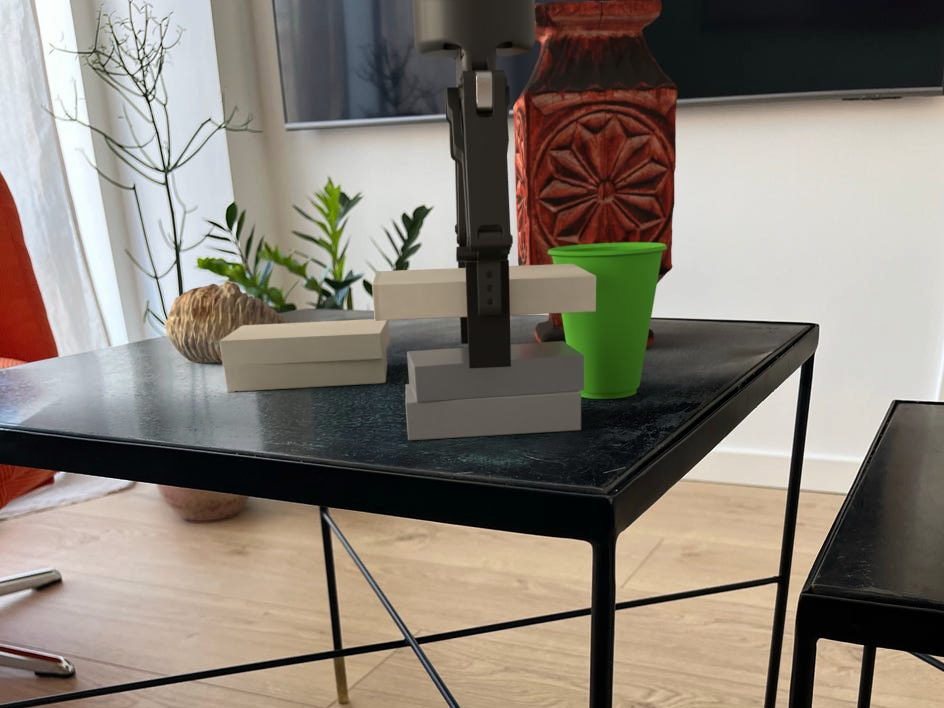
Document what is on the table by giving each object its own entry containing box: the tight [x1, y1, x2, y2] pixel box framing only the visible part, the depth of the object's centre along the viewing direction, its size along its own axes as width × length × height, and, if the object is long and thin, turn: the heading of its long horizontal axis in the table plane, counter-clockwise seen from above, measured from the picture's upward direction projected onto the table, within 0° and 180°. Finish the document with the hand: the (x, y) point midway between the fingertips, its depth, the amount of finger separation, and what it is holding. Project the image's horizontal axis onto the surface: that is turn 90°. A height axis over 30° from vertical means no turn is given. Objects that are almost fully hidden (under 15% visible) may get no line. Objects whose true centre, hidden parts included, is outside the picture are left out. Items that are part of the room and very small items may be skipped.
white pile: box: [219, 318, 391, 393], centre depth 93 cm, size 14×11×4 cm
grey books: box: [404, 341, 584, 442], centre depth 72 cm, size 12×8×5 cm, turn 94°
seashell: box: [163, 280, 291, 364], centre depth 106 cm, size 14×10×10 cm
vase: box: [512, 0, 679, 349], centre depth 99 cm, size 14×14×30 cm
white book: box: [371, 264, 596, 321], centre depth 69 cm, size 14×10×2 cm
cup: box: [548, 242, 667, 400], centre depth 79 cm, size 9×9×11 cm
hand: (484, 353), depth 71 cm, fingers closed on white book, 10 cm apart
